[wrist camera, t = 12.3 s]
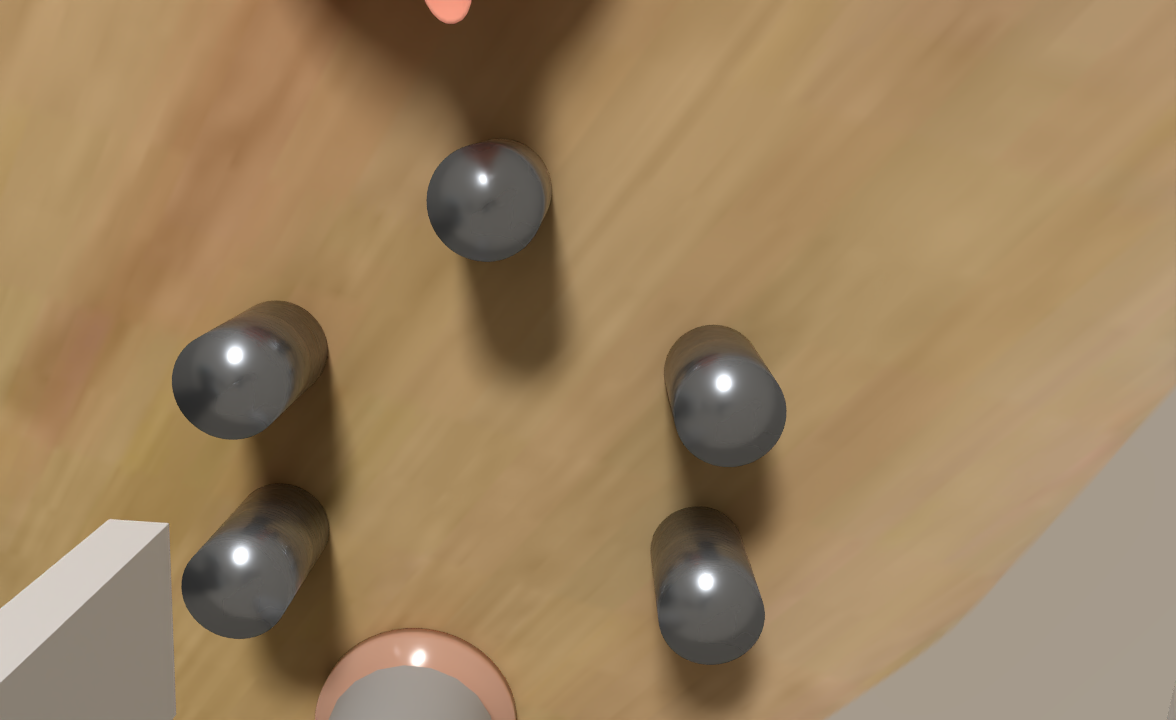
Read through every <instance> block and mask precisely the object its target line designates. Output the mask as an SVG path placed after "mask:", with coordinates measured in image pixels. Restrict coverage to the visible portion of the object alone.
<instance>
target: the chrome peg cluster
mask: <svg viewBox="0 0 1176 720" xmlns="http://www.w3.org/2000/svg"><path fill="white" fill-rule="evenodd" d="M551 195H552V185H551V179H550V175H549V172H548V170H547V168H546V166H545V164H544V162H543V161H542V160H541V158H540V157H539V156H538V155H537V154H536V153H535V152H534V151H533V150H532V149H530V148H529V147H527V146H526V145H524V144H522V143H519V142H517V141H514V140H509V139H492V140H488V141H484V142H480V143H476V144H472V145H469V146H465V147H463V148H460V149H458V150H456V151H455V152H453V153H451V154H450V155H449V156H448V157H446V158H445V159H444V160H443V161H442V162H441V163H440V164H439V166H438V167H437V169H436V170H435V172H434V174H433V176H432V178H431V180H430V183H429V187H428V191H427V210H428V216H429V219H430V222H431V225H432V227H433V229H434V231H435V232H436V234H437V235H438V237H439V238H440V239H441V241H442V242H443V243H444V244H445V245H446V246H447V247H448V248H450V249H451V250H452V251H454V252H455V253H457V254H459V255H461V256H463V257H465V258H468V259H471V260H475V261H483V262H491V261H498V260H502V259H506V258H508V257H510V256H513V255H514V254H516V253H518V252H519V251H521V250H522V249H523V248H524V247H525V246H526V245H527V244H528V243H529V242H530V241H531V240H532V238H533V237H534V236H535V234H536V232H537V230H538V229H539V227H540V225H541V223H542V221H543V219H544V217H545V215H546V213H547V211H548V208H549V206H550V202H551ZM327 355H328V347H327V341H326V337H325V334H324V332H323V330H322V328H321V326H320V324H319V323H318V321H317V320H316V319H315V318H314V317H313V316H312V315H311V314H310V313H309V312H307V311H306V310H305V309H303V308H301V307H300V306H298V305H295V304H293V303H289V302H285V301H267V302H263V303H260V304H257V305H255V306H253V307H251V308H250V309H248V310H246V311H244V312H243V313H241V314H239V315H237V316H235V317H234V318H232V319H230V320H228V321H227V322H225V323H223V324H221V325H220V326H218V327H216V328H214V329H212V330H211V331H209V332H207V333H205V334H204V335H202V336H200V337H198V338H197V339H195V340H193V341H192V342H191V343H189V344H188V345H187V346H186V347H185V348H184V349H183V350H182V352H181V353H180V355H179V356H178V358H177V360H176V362H175V366H174V369H173V374H172V387H173V393H174V397H175V400H176V402H177V405H178V406H179V408H180V410H181V412H182V413H183V414H184V416H185V417H186V418H187V419H188V420H189V421H190V422H191V423H192V424H193V425H194V426H195V427H197V428H198V429H200V430H201V431H203V432H205V433H207V434H209V435H212V436H214V437H218V438H222V439H244V438H248V437H251V436H253V435H256V434H258V433H260V432H261V431H263V430H264V429H266V428H267V427H268V426H269V425H270V424H271V423H272V422H273V421H274V420H275V419H276V418H278V417H279V416H280V415H281V414H282V413H283V412H284V411H285V410H286V409H287V408H288V407H289V406H290V405H291V404H292V403H293V402H294V401H295V400H296V399H297V398H299V397H300V396H301V395H302V394H303V393H304V392H305V391H306V390H307V389H308V388H309V387H310V386H311V385H312V384H313V383H314V382H315V381H316V380H317V379H318V378H319V376H320V375H321V374H322V372H323V370H324V368H325V365H326V361H327ZM664 379H665V384H666V388H667V392H668V397H669V401H670V405H671V409H672V413H673V417H674V421H675V425H676V429H677V432H678V435H679V437H680V439H681V441H682V442H683V444H684V445H685V447H686V448H687V449H688V450H689V451H690V452H691V453H692V454H693V455H695V456H696V457H697V458H699V459H701V460H702V461H704V462H707V463H709V464H712V465H716V466H722V467H736V466H742V465H745V464H749V463H751V462H754V461H755V460H757V459H759V458H761V457H762V456H764V455H765V454H766V453H767V452H768V451H770V450H771V449H772V447H773V446H774V445H775V444H776V442H777V441H778V439H779V438H780V436H781V434H782V432H783V429H784V426H785V421H786V403H785V398H784V395H783V393H782V390H781V388H780V387H779V385H778V383H777V382H776V380H775V379H774V377H773V376H772V374H771V372H770V371H769V369H768V368H767V366H766V365H765V363H764V362H763V360H762V359H761V357H760V356H759V354H758V353H757V351H756V350H755V348H754V347H753V345H752V344H751V343H750V341H749V340H748V339H747V338H746V337H745V336H744V335H742V334H741V333H739V332H738V331H736V330H734V329H731V328H729V327H725V326H720V325H707V326H701V327H698V328H695V329H693V330H691V331H689V332H687V333H685V334H684V335H683V336H681V337H680V338H679V339H678V340H677V341H676V342H675V344H674V345H673V346H672V348H671V349H670V351H669V353H668V355H667V358H666V361H665V367H664ZM328 537H329V523H328V518H327V516H326V513H325V511H324V509H323V507H322V506H321V504H320V503H319V502H318V501H317V500H316V498H314V497H313V496H312V495H311V494H310V493H308V492H307V491H305V490H303V489H301V488H299V487H296V486H293V485H289V484H271V485H267V486H264V487H261V488H259V489H257V490H255V491H254V492H253V493H251V494H250V495H249V496H248V497H247V498H246V499H245V500H244V501H243V502H242V504H241V505H240V506H239V507H238V508H237V509H236V510H235V511H234V512H233V513H232V515H231V516H230V517H229V518H228V519H227V520H226V521H225V522H224V523H223V524H222V526H221V527H220V528H219V529H218V530H217V531H216V532H215V533H214V534H213V535H212V537H211V538H210V539H209V540H208V541H207V542H206V543H205V544H204V545H203V546H202V547H201V549H200V550H199V551H198V552H197V553H196V554H195V555H194V556H193V557H192V558H191V560H190V561H189V563H188V564H187V566H186V568H185V570H184V573H183V577H182V595H183V599H184V602H185V604H186V607H187V609H188V610H189V612H190V613H191V615H192V616H193V617H194V619H195V620H196V621H197V622H198V623H199V624H201V625H202V626H203V627H204V628H206V629H207V630H209V631H211V632H213V633H215V634H217V635H220V636H223V637H227V638H234V639H245V638H251V637H255V636H258V635H261V634H263V633H265V632H266V631H268V630H269V629H271V628H272V627H273V626H274V625H275V624H276V623H277V622H278V621H279V620H280V618H281V617H282V615H283V614H284V612H285V610H286V609H287V607H288V606H289V604H290V602H291V601H292V599H293V598H294V596H295V595H296V593H297V591H298V590H299V588H300V587H301V585H302V583H303V582H304V580H305V579H306V577H307V575H308V574H309V572H310V571H311V569H312V567H313V566H314V564H315V563H316V561H317V559H318V558H319V556H320V555H321V553H322V552H323V550H324V548H325V546H326V544H327V541H328ZM651 560H652V568H653V577H654V585H655V594H656V602H657V611H658V619H659V627H660V630H661V633H662V635H663V638H664V639H665V641H666V643H667V644H668V645H669V647H670V648H671V649H672V650H673V651H674V652H676V653H677V654H678V655H680V656H681V657H683V658H685V659H687V660H689V661H692V662H695V663H699V664H707V665H714V664H722V663H726V662H729V661H732V660H734V659H736V658H738V657H740V656H742V655H743V654H745V653H746V652H747V651H748V650H749V649H750V648H751V647H752V646H753V645H754V644H755V643H756V641H757V640H758V638H759V636H760V634H761V632H762V629H763V626H764V620H765V611H764V605H763V601H762V598H761V595H760V592H759V589H758V586H757V583H756V580H755V577H754V574H753V571H752V568H751V565H750V562H749V559H748V556H747V553H746V550H745V547H744V544H743V541H742V538H741V535H740V533H739V531H738V529H737V527H736V526H735V524H734V523H733V522H732V521H731V520H730V519H729V518H728V517H727V516H725V515H724V514H722V513H720V512H719V511H716V510H714V509H710V508H706V507H689V508H685V509H681V510H679V511H676V512H675V513H673V514H671V515H670V516H668V517H667V518H666V519H665V520H664V521H662V523H661V524H660V525H659V526H658V528H657V529H656V531H655V533H654V535H653V538H652V542H651Z"/></svg>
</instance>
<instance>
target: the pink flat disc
mask: <svg viewBox="0 0 1176 720" xmlns="http://www.w3.org/2000/svg"><path fill="white" fill-rule="evenodd" d="M403 665H407V666H416V667H425V668H432V669H435V670H437V671H439V672H442V673H444V674H447V675H449V676H452V677H454V678H456V679H458V680H459V681H460V682H461V683H463V684H464V685H465V686H466V687H468V688H469V689H470V690H471V691H473V692H474V693H475V694H476V695H477V696H478V697H479V699H480V700H481V702H482V704H483V705H484V707H485V708H486V710H487V711H488V713H489V714H490V716H491V719H492V720H517V716H516V707H515V701H514V698H513V695H512V692H511V689H510V687H509V685H508V683H507V681H506V679H505V677H504V676H503V674H502V673H501V671H500V670H499V668H498V667H497V666H496V665H495V664H494V663H493V661H492V660H491V659H490V658H489V657H487V656H486V655H485V654H484V653H483V652H482V651H481V650H479V649H478V648H476V647H475V646H473V645H472V644H470V643H468V642H466V641H464V640H462V639H460V638H458V637H456V636H453V635H450V634H448V633H444V632H440V631H436V630H431V629H422V628H405V629H397V630H391V631H387V632H383V633H380V634H377V635H375V636H372V637H370V638H368V639H366V640H364V641H362V642H360V643H359V644H357V645H356V646H354V647H353V648H352V649H350V650H349V651H348V652H347V653H346V654H345V655H344V656H343V657H342V658H341V659H340V660H339V661H338V662H337V664H336V665H335V666H334V667H333V669H332V671H331V672H330V674H329V676H328V678H327V680H326V682H325V684H324V686H323V688H322V690H321V693H320V696H319V698H318V702H317V707H316V712H315V720H329V718H330V715H331V713H332V711H333V709H334V706H335V704H336V702H337V700H338V698H339V697H340V696H341V695H342V694H343V693H344V692H345V691H346V690H347V689H348V688H349V687H350V686H351V685H352V684H353V683H354V682H355V681H357V680H359V679H361V678H363V677H365V676H367V675H369V674H371V673H373V672H375V671H377V670H380V669H386V668H391V667H397V666H403Z"/></svg>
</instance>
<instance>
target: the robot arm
mask: <svg viewBox="0 0 1176 720" xmlns="http://www.w3.org/2000/svg"><path fill="white" fill-rule="evenodd" d="M175 715H176V699H175V672H174V645H173V618H172V591H171V564H170V537H169V523H157V522H142V521H128V520H113V519H109V520H108V521H106V522H105V523H104V524H103V525H101V526H100V527H99V528H98V529H97V530H95V531H94V532H93V533H92V534H91V535H89V536H88V537H87V538H86V539H84V540H83V541H82V542H81V543H80V544H78V545H77V546H76V547H75V548H74V549H72V550H71V551H70V552H69V553H67V554H66V555H65V556H64V557H63V558H61V559H60V560H59V561H58V562H57V563H55V564H54V565H53V566H52V567H50V568H49V569H48V570H47V571H46V572H44V573H43V574H42V575H41V576H40V577H38V578H37V579H36V580H35V581H33V582H32V583H31V584H30V585H29V586H27V587H26V588H25V589H24V590H23V591H21V592H20V593H19V594H18V595H16V596H15V597H14V598H13V599H12V600H10V601H9V602H8V603H7V604H6V605H4V606H3V607H2V608H1V609H0V720H172V719H173V718H174V716H175ZM1167 720H1176V682H1175V686H1174V690H1173V695H1172V699H1171V703H1170V707H1169V712H1168V716H1167Z"/></svg>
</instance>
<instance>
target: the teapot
mask: <svg viewBox="0 0 1176 720" xmlns="http://www.w3.org/2000/svg"><path fill="white" fill-rule="evenodd" d="M424 1H425V3H426V4H427V6H428V8H429V9H430V11H431V12H432V14H433V15H434V16H435V17H436V18H437V19H438V20H440V21H442V22H444V23H446V24H456V23H457V22H459V21H461V20H463V19H464V17H465V16H466V15H467V13H468V11H469V8H470V5H471V2H472V0H424Z"/></svg>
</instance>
